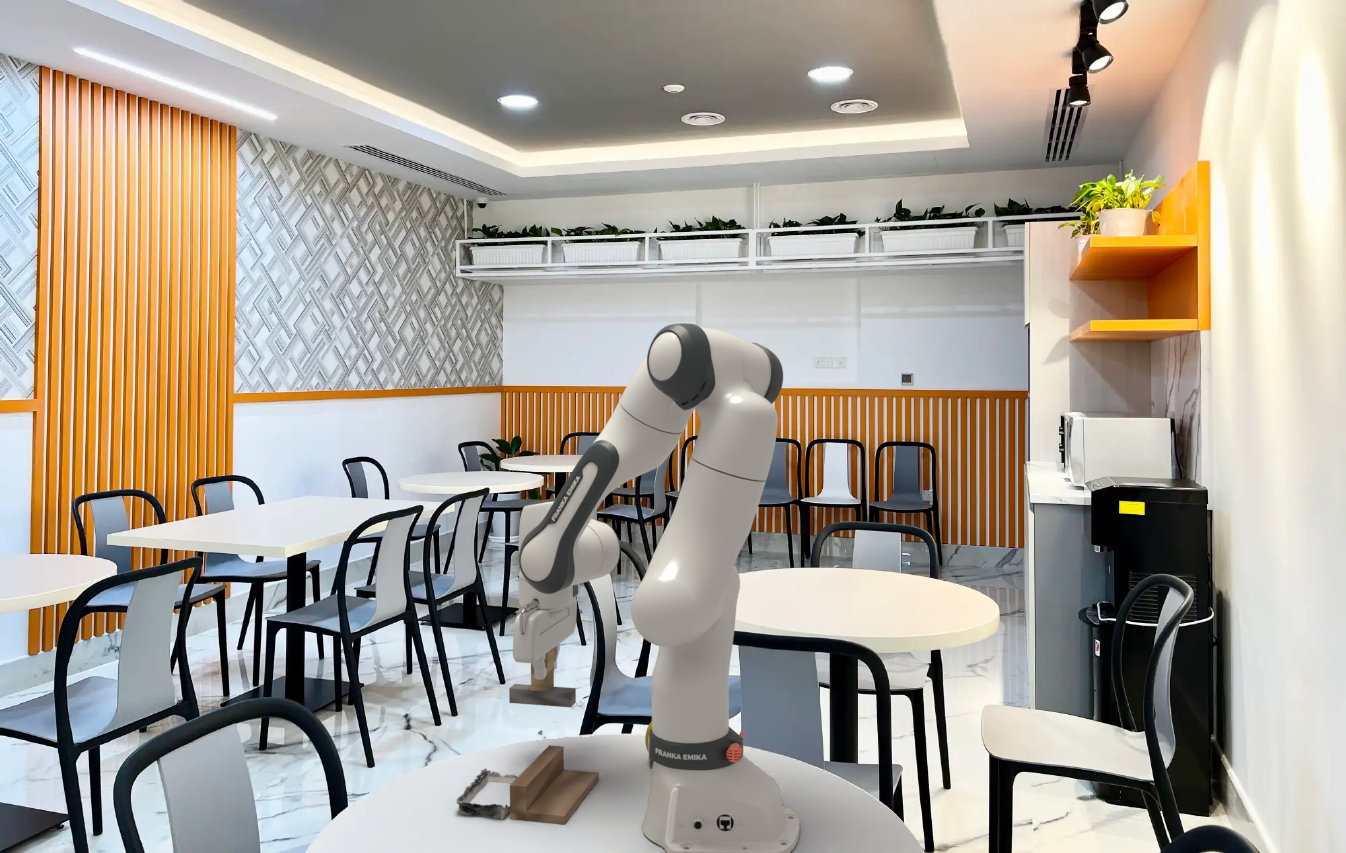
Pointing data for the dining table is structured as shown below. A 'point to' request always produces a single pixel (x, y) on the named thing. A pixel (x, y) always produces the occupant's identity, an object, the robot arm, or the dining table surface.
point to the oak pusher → (543, 689)
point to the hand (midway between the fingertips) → (545, 674)
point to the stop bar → (549, 789)
